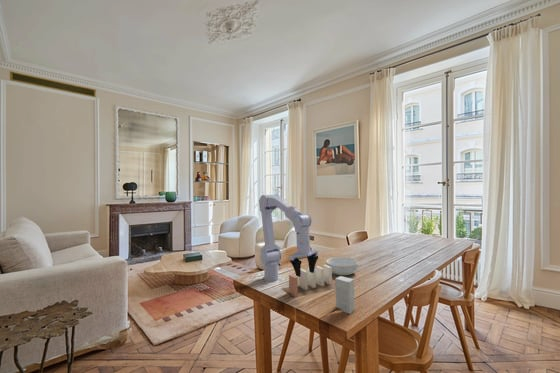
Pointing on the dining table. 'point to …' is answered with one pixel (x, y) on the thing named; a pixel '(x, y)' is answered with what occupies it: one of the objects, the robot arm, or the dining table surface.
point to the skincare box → (345, 294)
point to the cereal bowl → (342, 265)
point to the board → (311, 289)
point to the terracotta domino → (293, 285)
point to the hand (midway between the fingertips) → (305, 274)
